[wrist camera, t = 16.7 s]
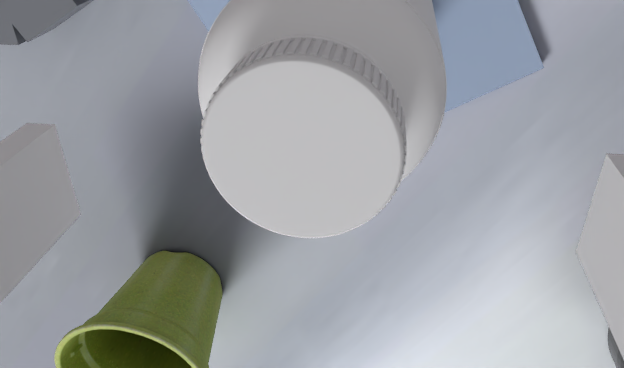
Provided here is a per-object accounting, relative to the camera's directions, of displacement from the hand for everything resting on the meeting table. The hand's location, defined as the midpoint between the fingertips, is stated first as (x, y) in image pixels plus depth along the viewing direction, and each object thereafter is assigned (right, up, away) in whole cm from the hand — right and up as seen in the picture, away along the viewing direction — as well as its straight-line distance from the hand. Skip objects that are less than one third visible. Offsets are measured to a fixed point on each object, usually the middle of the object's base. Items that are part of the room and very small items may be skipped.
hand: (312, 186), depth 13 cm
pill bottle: (+2, +9, +13) cm, 16 cm away
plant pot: (-9, -7, +25) cm, 28 cm away
